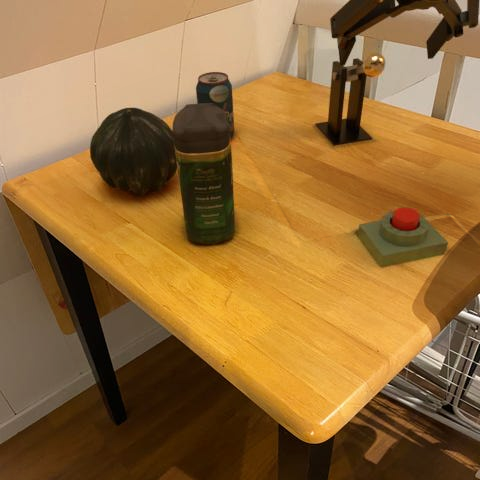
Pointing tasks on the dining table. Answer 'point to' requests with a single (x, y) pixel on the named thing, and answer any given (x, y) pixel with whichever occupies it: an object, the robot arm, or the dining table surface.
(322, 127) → the switch bracket
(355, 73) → the switch lever
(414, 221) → the button
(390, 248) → the panel
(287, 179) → the dining table surface
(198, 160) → the coffee jar
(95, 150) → the squash
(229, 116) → the soda can
